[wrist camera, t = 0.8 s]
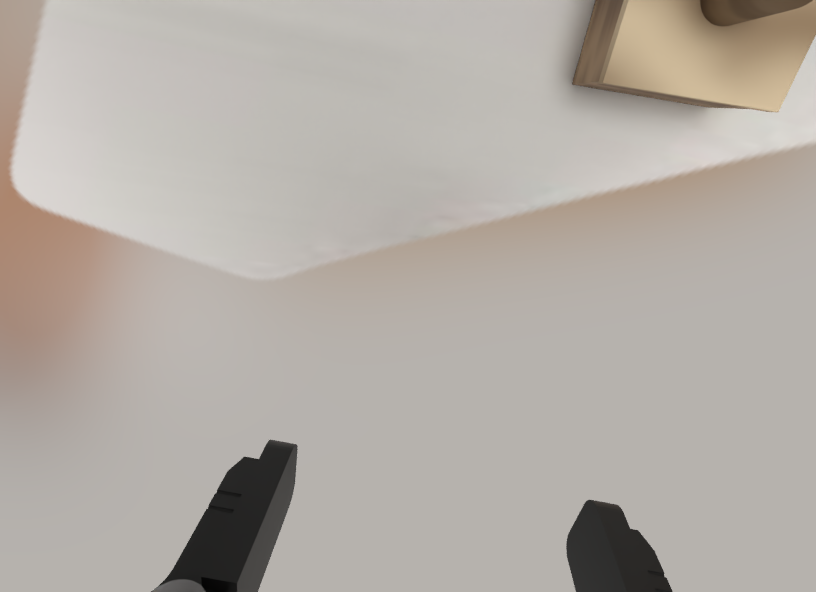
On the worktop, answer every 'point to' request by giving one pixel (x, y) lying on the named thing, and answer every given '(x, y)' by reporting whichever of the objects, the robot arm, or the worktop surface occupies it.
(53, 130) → the worktop surface
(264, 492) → the robot arm
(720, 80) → the lid
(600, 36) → the tea box
